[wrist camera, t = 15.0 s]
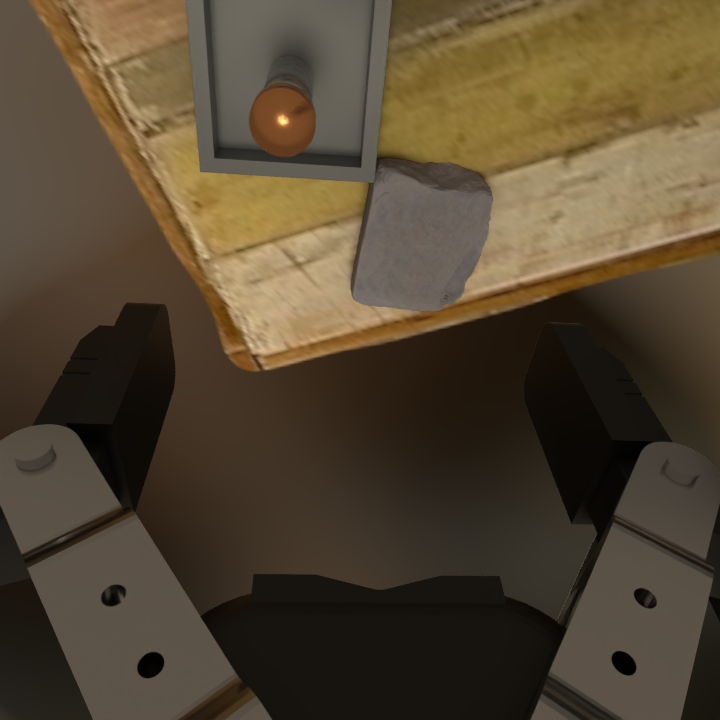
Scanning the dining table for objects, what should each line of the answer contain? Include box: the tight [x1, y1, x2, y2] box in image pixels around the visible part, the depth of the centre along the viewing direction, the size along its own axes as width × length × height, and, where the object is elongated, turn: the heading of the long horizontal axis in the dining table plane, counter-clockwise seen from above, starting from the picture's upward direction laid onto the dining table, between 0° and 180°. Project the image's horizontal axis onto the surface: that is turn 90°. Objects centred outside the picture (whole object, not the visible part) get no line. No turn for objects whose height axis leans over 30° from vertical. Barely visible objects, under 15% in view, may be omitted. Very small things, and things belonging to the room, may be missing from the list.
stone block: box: [351, 158, 493, 311], centre depth 47 cm, size 12×5×10 cm
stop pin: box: [249, 55, 316, 157], centre depth 36 cm, size 4×4×9 cm
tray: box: [186, 0, 392, 183], centre depth 39 cm, size 12×12×3 cm
